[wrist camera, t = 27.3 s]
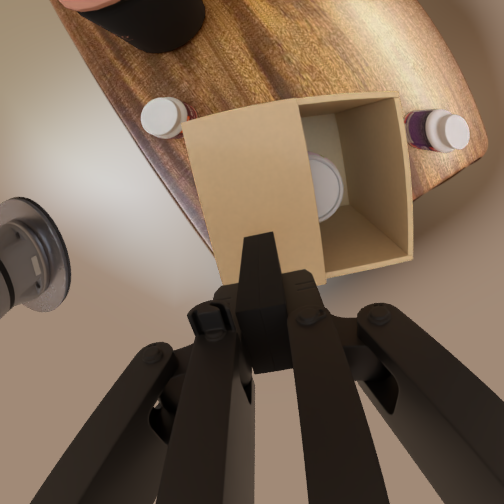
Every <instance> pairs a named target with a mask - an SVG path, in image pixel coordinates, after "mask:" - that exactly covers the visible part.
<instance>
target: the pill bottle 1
mask: <svg viewBox="0 0 504 504" xmlns="http://www.w3.org/2000/svg"><path fill="white" fill-rule="evenodd" d="M196 118H198V115H197V112H196V110H195V109H194V108H193V107H192V106H191V105H189V104H187V103H185V102H182V101H180V100H178V99H176V98H172V97H164V98H156V99H153V100H151V101H150V102H148V103H147V104H146V106H145V107H144V108H143V111H142V113H141V123H142V126H143V128H144V129H145V130H146V131H147V132H148V133H149V134H152V135H154V136H156V137H158V138H162V139H174V138H176V139H177V138H184V136H183V132H182V127H181V123H182V122H186V121H189V120H193V119H196Z"/></svg>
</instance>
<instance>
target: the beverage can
mask: <svg viewBox="0 0 504 504" xmlns="http://www.w3.org/2000/svg"><path fill="white" fill-rule="evenodd" d="M308 157H309V162H310V168H311V174H312V179H313V185H314V192H315V198H316V204H317V211H318V218H319V222H322V221H324V220H326V219H328V218H329V217H331V216H332V215H333V214H334V213H335V212H336V210H337V209H338V208H339V206H340V204H341V201H342V198H343V193H344V185H343V180H342V177H341V175H340V173H339V171H338V169H337V168H336V166H335V165H334V164H333V163H332V162H331V161H330V160H329V159H327V158H326V157H324V156H322V155H319V154H316V153H313V152H309V151H308Z"/></svg>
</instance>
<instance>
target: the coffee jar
mask: <svg viewBox="0 0 504 504" xmlns="http://www.w3.org/2000/svg"><path fill="white" fill-rule="evenodd" d="M59 1H60V2H61V3H62V4H63V5H64V6H65V7H66V8H68V9H71V10H75V11H77V12H78V13H79V14H80V15H81V16H83V17H84V18H86V19H88V20H90V21H92V22H94V23H96V24H97V25H99V26H101V27H103V28H104V29H106V30H108V31H110V32H111V33H113V34H115V35H116V36H118V37H120V38H121V39H123V40H125V41H126V42H128V43H130V44H131V45H133V46H134V47H136V48H138V49H140V50H143V51H145V52H150V53H161V52H166V51H171V50H174V49H176V48H178V47H180V46H182V45H184V44H185V43H186V42H188V41H189V40H190V39H192V38H193V37H194V36H195V34H196V33H197V32H198V30H199V29H200V28H201V26H202V23H203V21H204V18H205V6H204V4H203V2H202V0H59Z"/></svg>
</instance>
